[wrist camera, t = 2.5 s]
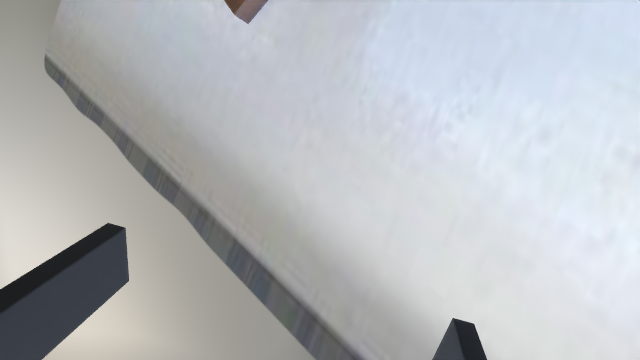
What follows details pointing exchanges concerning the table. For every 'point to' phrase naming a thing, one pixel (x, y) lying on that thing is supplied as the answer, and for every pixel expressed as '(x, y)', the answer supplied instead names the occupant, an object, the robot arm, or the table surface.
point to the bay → (245, 8)
